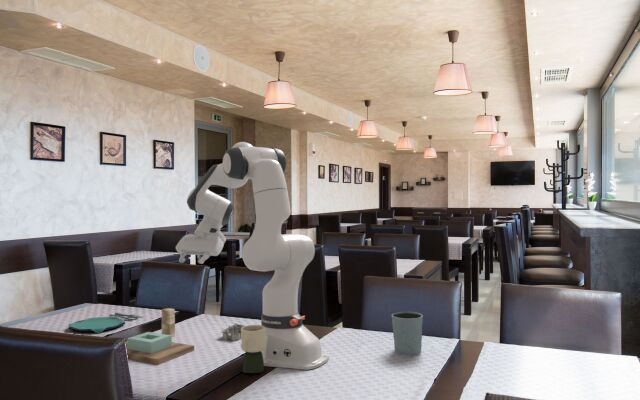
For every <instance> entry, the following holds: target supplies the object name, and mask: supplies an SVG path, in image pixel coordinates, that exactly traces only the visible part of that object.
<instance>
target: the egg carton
mask: <svg viewBox="0 0 640 400" xmlns="http://www.w3.org/2000/svg"><path fill="white" fill-rule="evenodd" d="M244 326H248V325H243V324H239V323H234V324H233V325H231V326H228V327H227V328H221V334H222V339H223V340H226V341H227V340H231V341H234V342H235V341H239V340H241V328H242V327H244Z"/></svg>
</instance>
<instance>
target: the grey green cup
mask: <svg viewBox="0 0 640 400" xmlns="http://www.w3.org/2000/svg"><path fill="white" fill-rule="evenodd" d="M423 317H424V315H423V314H422V313H420V312H415V311H399V312H398V311H397V312H394V313H392V314H391V322H392V323H391V324H392V333H393V334H392V335H393V341H394V343H393V345H394V352H395V353H396V354H398V355H402V356H415V355H420V354H421V353H422V339H423V330H422V328H423Z"/></svg>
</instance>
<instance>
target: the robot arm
mask: <svg viewBox="0 0 640 400" xmlns="http://www.w3.org/2000/svg"><path fill="white" fill-rule="evenodd" d="M286 168H287V157H286V155H285V153H284V152H283V151H282V149H280V148H276V147H261V146H253V145H252V144H251V143H249V142H246V141H239V142H236V143H235V144H233V145H232V147H230V148H228V149H226V151H225V152H224V154H223V157H222V163H219V164H213V165H212V166H210V168H209V169H208V170H207V172H206V173H205V174H204V175H203V177H202V178H201V180H199V182H198V184H197V185H196V186H195V187H194V188H193V189H192V190H191V191H190V192H189V194H188V196H187V198H186V203H187V206H188V208H189V210H191V211H194V212H196V213H199V214H201V215H203V218H202V220H201V221H200V222H199V224H198V226H196V229H195V230H194V233H187V234H186V235H184V236H182V237H181V238H180V240H179V241H178V242H177V244H176V245H175V250H176V251H177V253H178V254H179V255H180V257H179V258H178V262H179V263H180V264H181V263H184V264H185V261H186V260H187V259H186V258H185V257H186V256H187V255H190V256H191V255H194V256H201V257H199V258H198V259H197V263H198V264H201V265H202V264H204V263H205V261H207V260H208V259H209V258H210V257H212V256H213V257H217V256H219V255H221V252H222V250H223V248H224V245H225V244H226V241H227V238H226V236H225V235H224V234H223V232H222V231H221V228H223V227H224V226H225V225H228V223H229V221H230V219H231V217H232V216H233V214H234V212H235V208H234V204H233V202H232V201H231V200H229V199H227V198H225V197H223V196H221V195H219V194H217V193H215V192H213V191H211V190H210V189H209V188H210V186H213V185H214V186H215V185H216V186H220V187H225V188H227V189H238V188H242V187H243V186H245V185H246V184H247V182H248V181H249V180H251V183H252V193H253V200H254V201H253V202H254V208H255V224H254V228H253V230H252V231H253V232H252V234H251V236H250V237H249V239H247V240H246V242H245V243H244V245H243V247H242V252H241V255H242V260H243V262H244V265H245V266H246V267H247V269H249V270H250V271H255V272H256V271H257V272H271V271H274V274H273V275H272V277H271V279H270V280H269V281H268V282H267V283H266V284H265V285H264V287H263V289H262V312H261V317H260V320H261V321H260V322H261V324H260V325H261V326H264V327H265V346H266V347H265V349H264V350H263V351H261V352H262V355H263V361H264V367H274V368H284V369H295V370H307V371H308V370H313V369H316V368H318V367H321V366H323V365H324V364H326V363H327V362H328V361H329V359H330V358H329V354H327V353H324V352H322V347H321V346H322V345H321V341H320V339H319V338H318V337H317V336H316V335H314V334H313V332H311V331H310V330H309V329H308V328H307V327H306V326H305V325H304V324H303V320H306V318H305V317H306V315H300V313H299V311H298V300H299V299H298V297H299V296H298V295H299V287H300V281H301V278H302V277H303V275H304V274H303V273H304V272H305V269H306V268H307V266H309V264H310V263H311V262H312V261H313V260H314V257H315V253H316V249H315V244H314V241H313V240H312V239H311V238H310V237H309V236H308V235H304V234H300V233H299V234H298V233H286V234H285V233H284V234H282V225H283V223H284V222H285V221H287V220H288V219H289V217H290V215H291V212H292V211H291V204H290V198H289V192H288V190H289V189H288V186H287V180H286V177H285V171H286Z"/></svg>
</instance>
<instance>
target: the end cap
mask: <svg viewBox="0 0 640 400" xmlns="http://www.w3.org/2000/svg"><path fill="white" fill-rule="evenodd" d="M126 342H128V349H130V350H136V351H141V352H147V353H154V352H156V351H159V350H162V349H164V348H167V347H170V346H171V342H172V337H171V335H165V334H162V333H158V332H151V331H146V332H143V333H140V334H136V335H134V336H131V337H128V338H127V340H126Z"/></svg>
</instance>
